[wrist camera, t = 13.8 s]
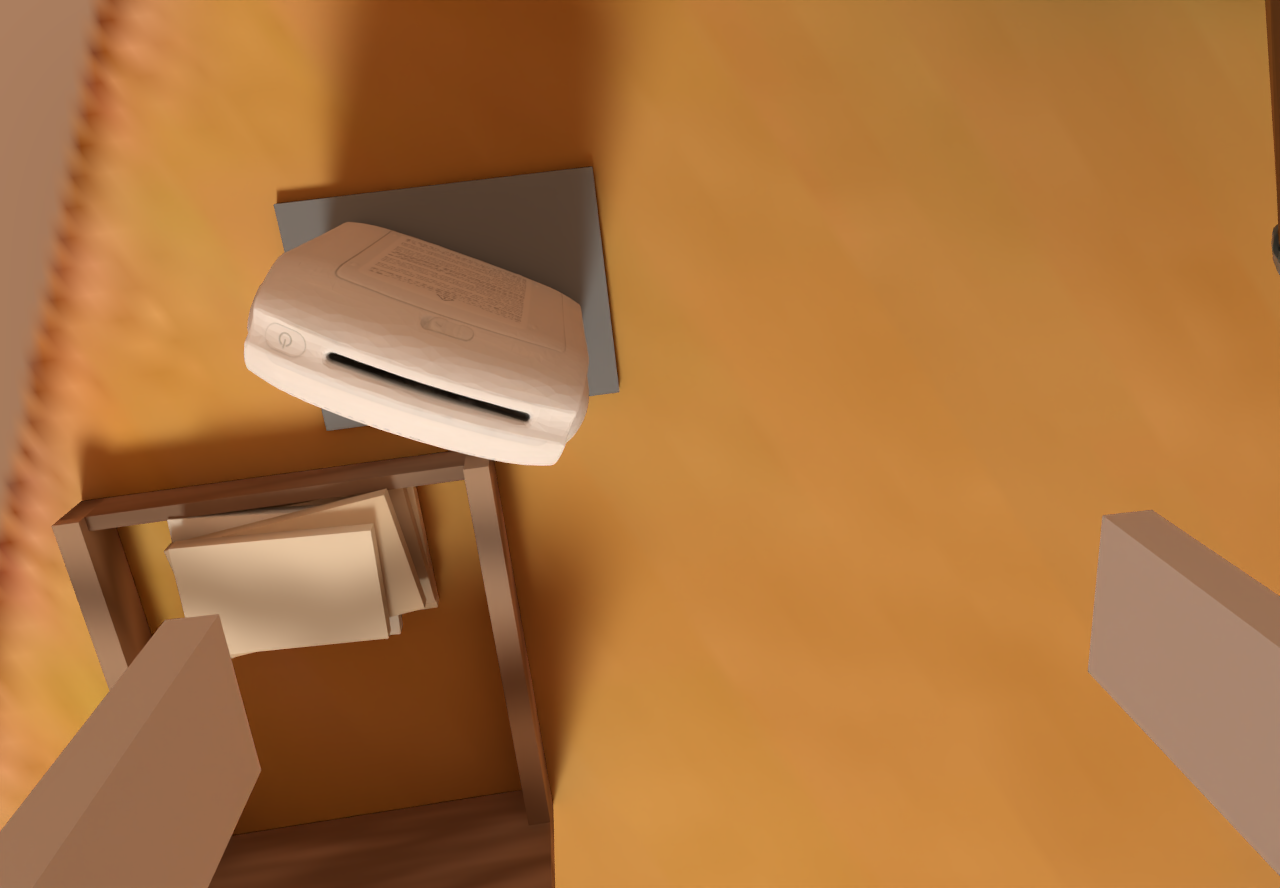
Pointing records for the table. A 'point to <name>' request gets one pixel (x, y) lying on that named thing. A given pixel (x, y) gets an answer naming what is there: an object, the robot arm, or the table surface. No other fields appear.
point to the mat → (491, 240)
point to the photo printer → (423, 344)
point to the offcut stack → (306, 570)
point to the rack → (374, 843)
